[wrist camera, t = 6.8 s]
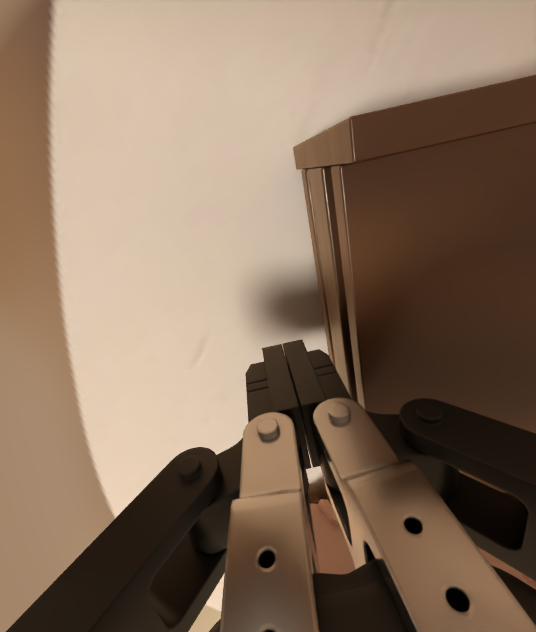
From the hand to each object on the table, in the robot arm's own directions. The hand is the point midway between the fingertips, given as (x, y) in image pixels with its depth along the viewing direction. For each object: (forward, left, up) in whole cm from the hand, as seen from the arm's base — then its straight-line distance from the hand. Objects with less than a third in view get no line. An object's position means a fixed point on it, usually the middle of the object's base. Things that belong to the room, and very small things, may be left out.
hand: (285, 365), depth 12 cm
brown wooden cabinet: (0, +6, -4) cm, 7 cm away
